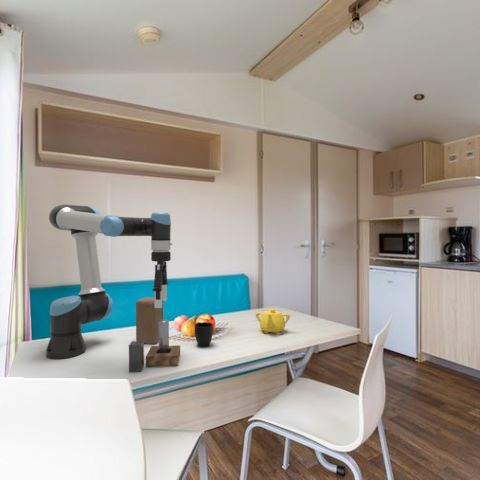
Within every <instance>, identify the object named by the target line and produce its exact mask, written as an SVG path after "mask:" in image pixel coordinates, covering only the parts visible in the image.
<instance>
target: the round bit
mask: <svg viewBox="0 0 480 480" xmlns="http://www.w3.org/2000/svg"><path fill="white" fill-rule="evenodd" d="M169 323H170V321H169V320H168V319H164V320H160V321H159V342H158V346H159V353H169V346H170V324H169Z"/></svg>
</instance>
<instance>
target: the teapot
mask: <svg viewBox="0 0 480 480" xmlns="http://www.w3.org/2000/svg"><path fill="white" fill-rule="evenodd" d="M260 315H261V318H260ZM284 316H285V317H286V318H285V317H284ZM255 318H256V319H257V321H258V323H259V327H260V329H261V330H262V332H263V331H264V332H263V334H264V333H265V335H267V334H269V333H274V335H277V336H278V335H281V333H280V332H283V331H284V329H285V328H286V324H287V323H288V322H289V320H290V318H291V314H290V313H282V312H281V311H279V310H276V308H270V309H269V310H266V311H263V312H259V311H257V312H255Z"/></svg>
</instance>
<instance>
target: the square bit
mask: <svg viewBox="0 0 480 480" xmlns="http://www.w3.org/2000/svg"><path fill="white" fill-rule="evenodd" d="M144 345H145V343H144V341H136V340H134V341H131V342H130V343H129V345H128V373H142V372H143V370H144V368H145V352H144V351H145V346H144Z"/></svg>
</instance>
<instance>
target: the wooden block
mask: <svg viewBox="0 0 480 480" xmlns="http://www.w3.org/2000/svg"><path fill="white" fill-rule="evenodd" d="M160 320H165V319H164V301H162V308H155V296H154V297H153V296H152V297H151V296H150V297H149V296H145V297H143V298H140V299H138V300H136V301H135V330H136V331H135V341H144V344H146V345H148V344H149V345H155V344H158V343H159V321H160Z"/></svg>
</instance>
